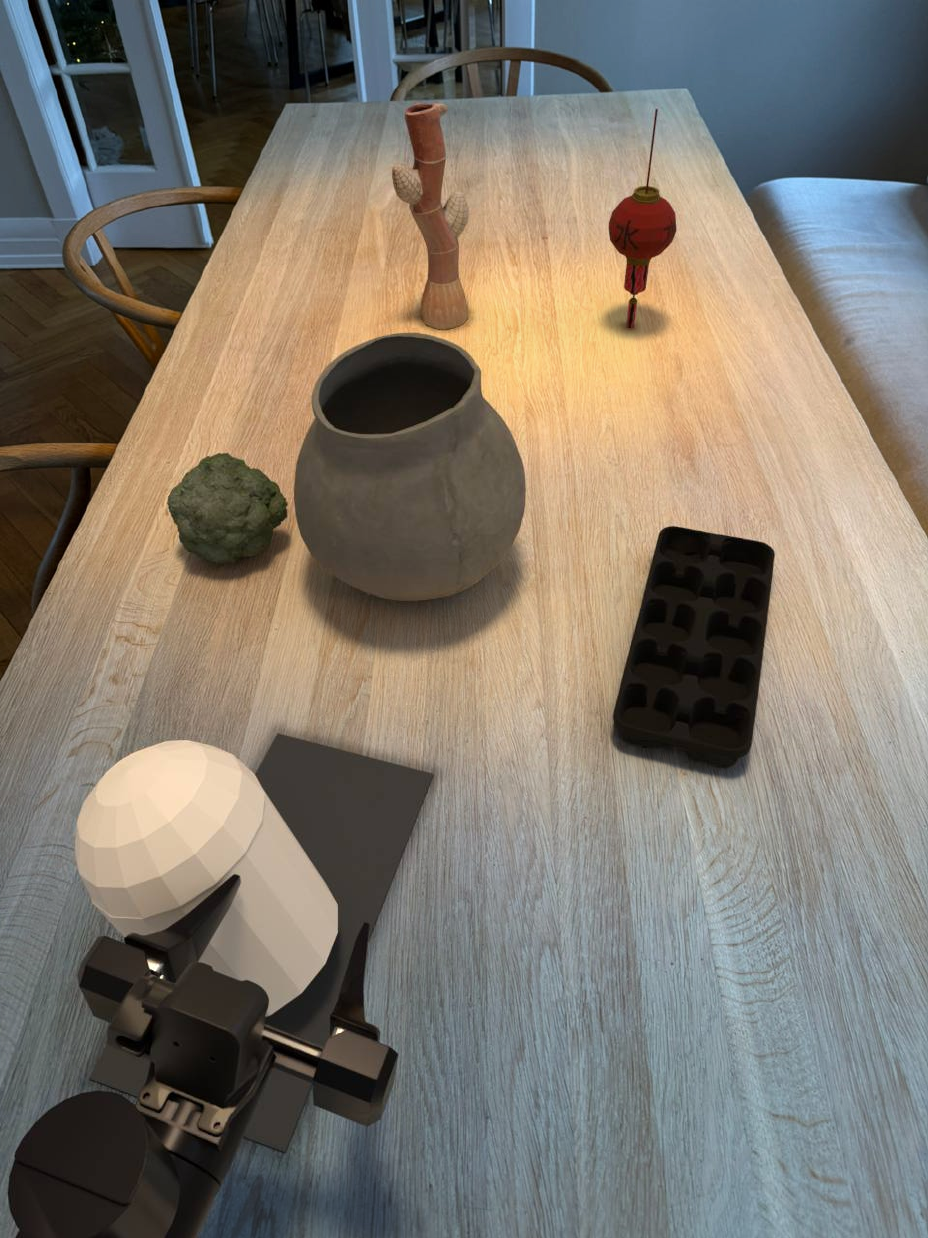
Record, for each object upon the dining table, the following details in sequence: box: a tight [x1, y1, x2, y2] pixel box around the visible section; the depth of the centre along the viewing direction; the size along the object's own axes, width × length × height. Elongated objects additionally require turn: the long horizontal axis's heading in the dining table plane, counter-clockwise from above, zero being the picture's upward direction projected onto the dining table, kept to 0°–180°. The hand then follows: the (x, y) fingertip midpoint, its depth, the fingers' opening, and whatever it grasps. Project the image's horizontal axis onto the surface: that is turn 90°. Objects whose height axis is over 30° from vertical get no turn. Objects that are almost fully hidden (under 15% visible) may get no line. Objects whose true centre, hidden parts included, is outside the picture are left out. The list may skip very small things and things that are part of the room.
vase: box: [391, 102, 469, 330], centre depth 125 cm, size 10×7×30 cm
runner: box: [88, 733, 435, 1154], centre depth 73 cm, size 32×16×1 cm, turn 162°
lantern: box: [608, 108, 677, 330], centre depth 122 cm, size 10×10×30 cm
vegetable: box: [166, 452, 289, 565], centre depth 101 cm, size 12×13×15 cm
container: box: [74, 739, 338, 1017], centre depth 63 cm, size 14×13×20 cm
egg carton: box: [612, 525, 776, 769], centre depth 90 cm, size 18×30×4 cm, turn 174°
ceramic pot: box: [293, 332, 527, 602], centre depth 91 cm, size 24×24×25 cm
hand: (301, 901), depth 57 cm, fingers open, 9 cm apart
